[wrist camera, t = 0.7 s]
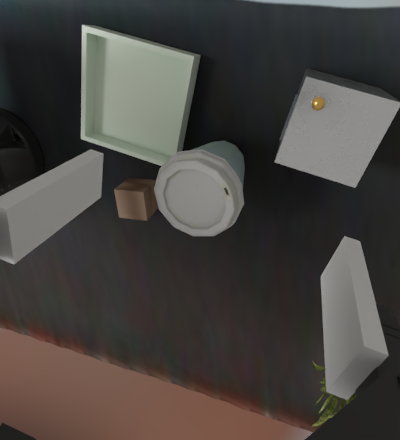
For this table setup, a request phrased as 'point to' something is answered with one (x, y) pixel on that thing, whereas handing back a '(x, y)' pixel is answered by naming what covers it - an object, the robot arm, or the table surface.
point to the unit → (335, 127)
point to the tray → (135, 94)
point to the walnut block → (136, 199)
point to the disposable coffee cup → (202, 188)
